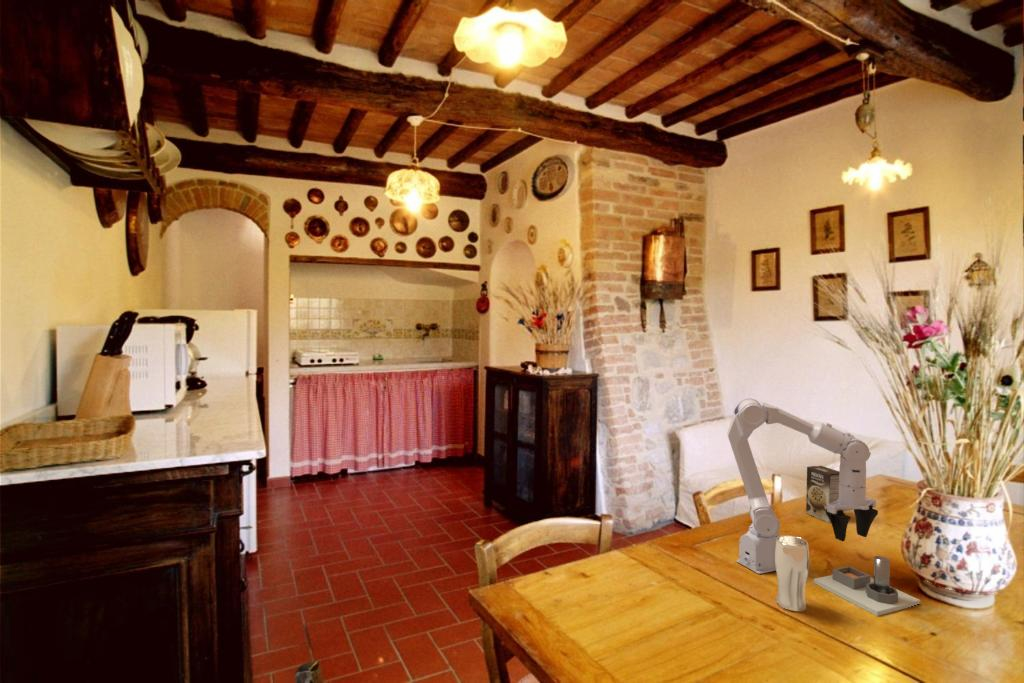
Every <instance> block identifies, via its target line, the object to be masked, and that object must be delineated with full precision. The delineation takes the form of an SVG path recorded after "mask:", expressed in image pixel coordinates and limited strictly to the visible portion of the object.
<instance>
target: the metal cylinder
mask: <svg viewBox="0 0 1024 683" xmlns="http://www.w3.org/2000/svg"><path fill="white" fill-rule="evenodd" d="M890 570H891V559H890V558H888V557H885V556H881V555H875V556H873V579H874V591H876V592H878V593H884V594H889V586H890V582H891V581H890V580H891V578H890V576H891V573H890V572H891V571H890Z"/></svg>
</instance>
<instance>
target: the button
mask: <svg viewBox="0 0 1024 683" xmlns="http://www.w3.org/2000/svg"><path fill="white" fill-rule="evenodd" d="M846 575H848V576H850V577H852V578H855V577H858V576H856V575H854V574H852V573H846Z"/></svg>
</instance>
